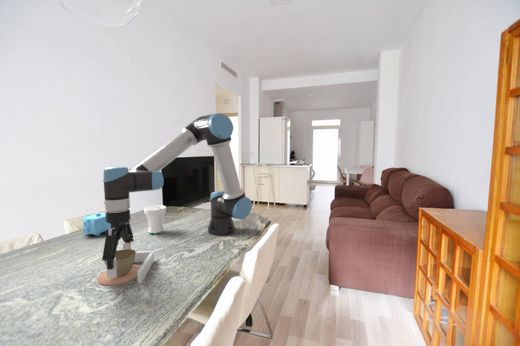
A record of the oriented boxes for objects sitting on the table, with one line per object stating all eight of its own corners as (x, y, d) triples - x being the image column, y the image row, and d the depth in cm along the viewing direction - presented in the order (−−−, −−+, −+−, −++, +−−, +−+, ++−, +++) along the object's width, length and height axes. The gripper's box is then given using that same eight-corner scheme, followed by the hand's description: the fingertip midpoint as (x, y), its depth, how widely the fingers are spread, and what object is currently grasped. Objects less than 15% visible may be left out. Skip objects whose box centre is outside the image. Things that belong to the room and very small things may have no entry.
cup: (167, 228, 136) (166, 204, 134) (166, 234, 125) (165, 209, 124) (146, 230, 132) (145, 206, 131) (143, 237, 122) (142, 210, 120)
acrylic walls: (154, 259, 96) (154, 250, 96) (141, 282, 79) (140, 271, 79) (112, 262, 93) (111, 253, 93) (88, 287, 76) (88, 275, 76)
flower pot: (142, 269, 87) (142, 251, 86) (118, 283, 78) (117, 263, 77) (123, 264, 91) (122, 247, 90) (98, 277, 81) (96, 258, 81)
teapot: (95, 239, 117) (94, 218, 116) (72, 235, 124) (71, 214, 123) (123, 230, 132) (122, 210, 131) (101, 226, 138) (100, 208, 137)
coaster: (147, 263, 92) (147, 262, 92) (134, 283, 79) (134, 282, 79) (108, 266, 90) (108, 265, 90) (89, 287, 76) (89, 286, 76)
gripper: (120, 203, 94) (123, 253, 96) (86, 220, 69) (90, 287, 71) (140, 202, 95) (142, 252, 97) (113, 219, 71) (117, 285, 72)
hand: (120, 267), depth 84 cm, fingers open, 13 cm apart
